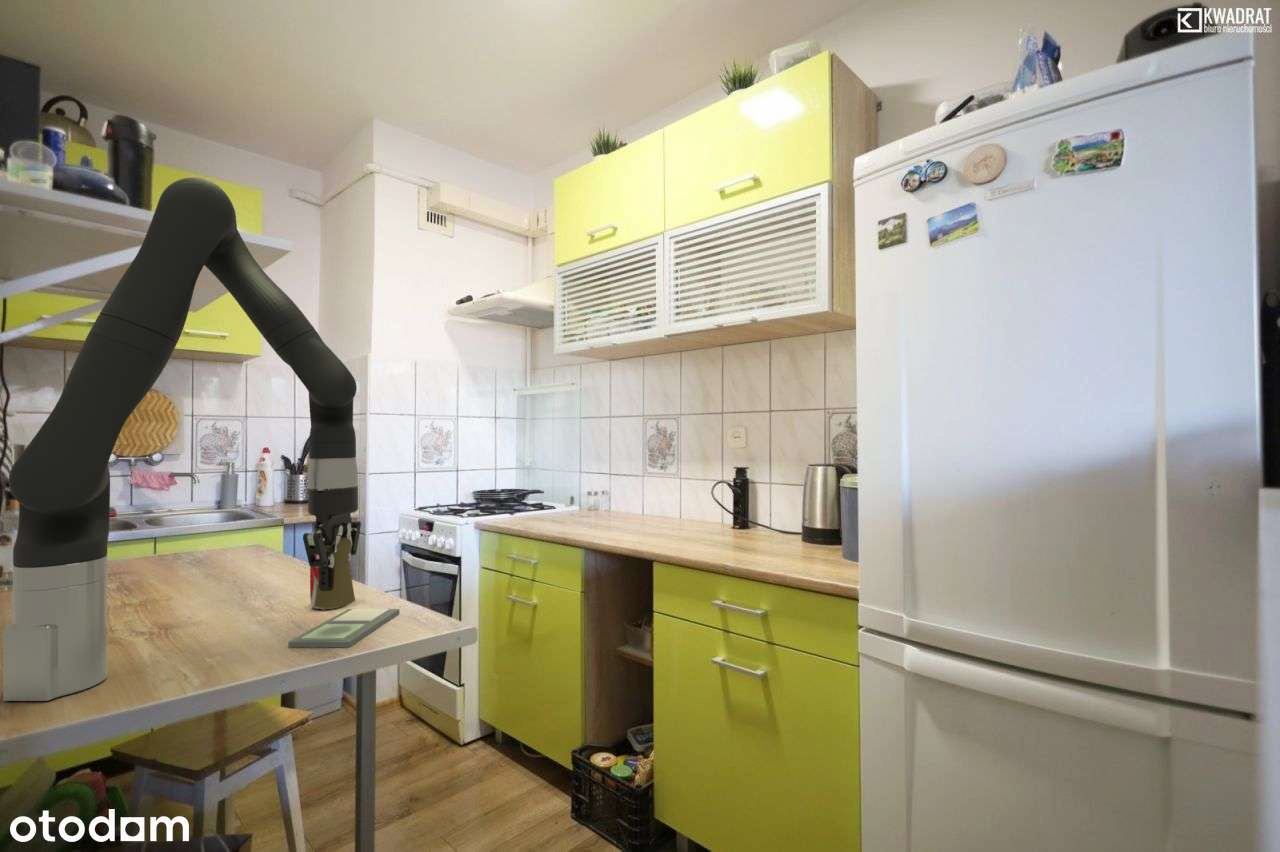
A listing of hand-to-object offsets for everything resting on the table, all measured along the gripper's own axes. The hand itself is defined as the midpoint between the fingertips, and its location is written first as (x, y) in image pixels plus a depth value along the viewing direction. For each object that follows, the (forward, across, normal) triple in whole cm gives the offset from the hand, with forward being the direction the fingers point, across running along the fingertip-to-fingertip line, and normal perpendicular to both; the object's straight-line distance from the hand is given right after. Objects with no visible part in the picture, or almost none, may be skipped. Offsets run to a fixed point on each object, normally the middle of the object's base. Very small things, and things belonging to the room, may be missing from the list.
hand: (334, 586), depth 99 cm
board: (+9, -4, 0) cm, 10 cm away
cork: (+3, 0, 0) cm, 3 cm away
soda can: (+9, -18, -11) cm, 23 cm away
